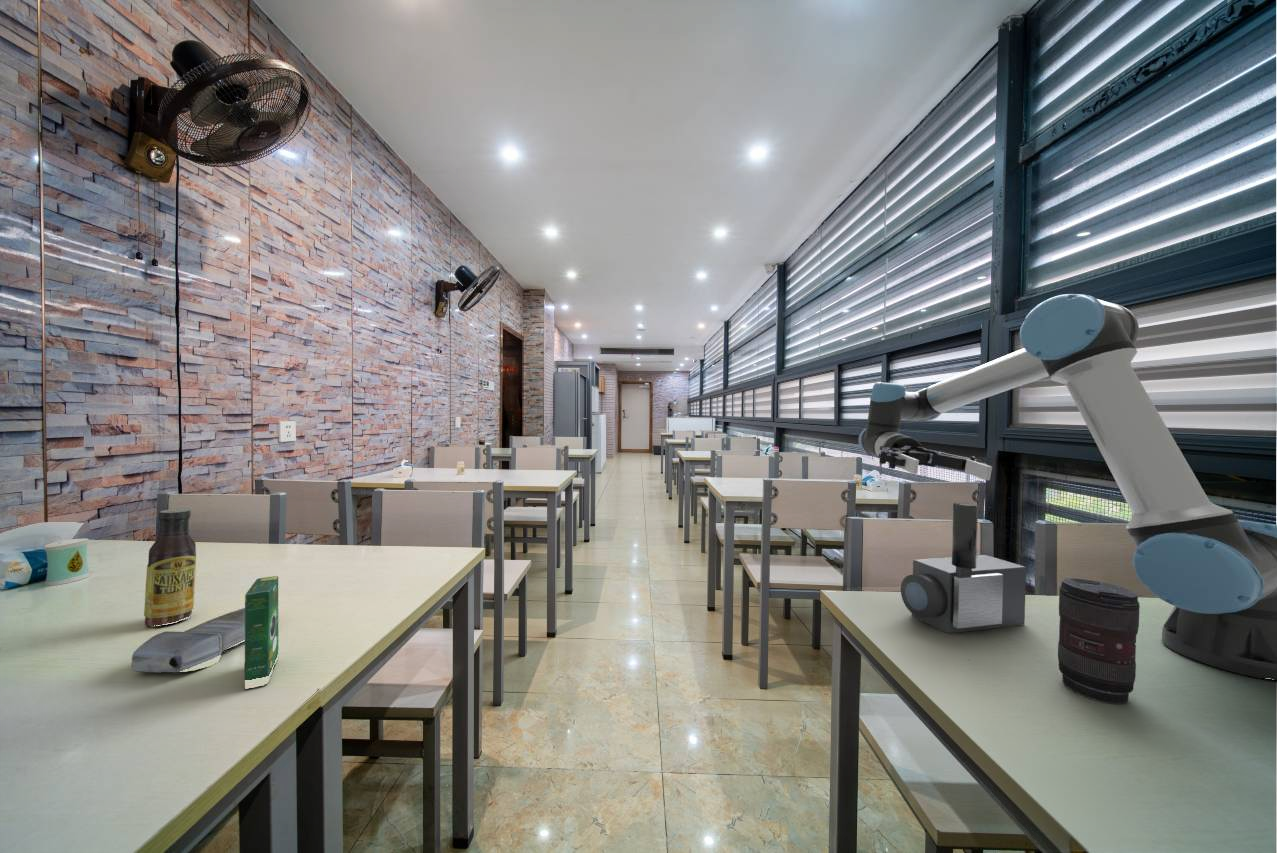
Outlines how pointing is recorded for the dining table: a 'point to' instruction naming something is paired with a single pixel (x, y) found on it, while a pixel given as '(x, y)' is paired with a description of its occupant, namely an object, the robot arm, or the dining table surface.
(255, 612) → the coffee box
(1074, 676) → the camera lens
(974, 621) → the side door
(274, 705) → the dining table surface
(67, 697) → the dining table surface
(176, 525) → the sauce bottle
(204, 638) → the handheld device
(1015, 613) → the camera housing
